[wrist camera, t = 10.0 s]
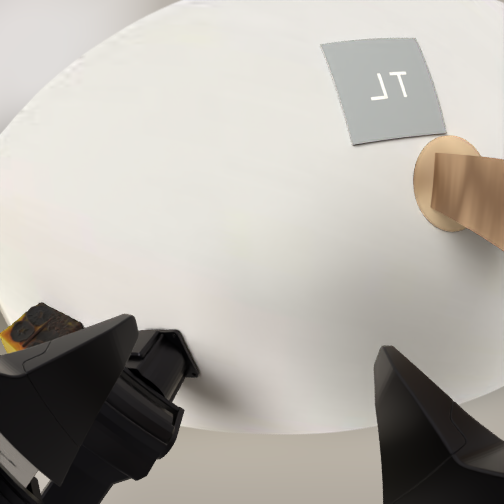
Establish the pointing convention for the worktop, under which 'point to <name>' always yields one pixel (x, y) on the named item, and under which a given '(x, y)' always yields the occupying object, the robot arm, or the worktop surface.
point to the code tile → (384, 88)
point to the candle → (37, 328)
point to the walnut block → (471, 193)
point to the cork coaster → (426, 174)
